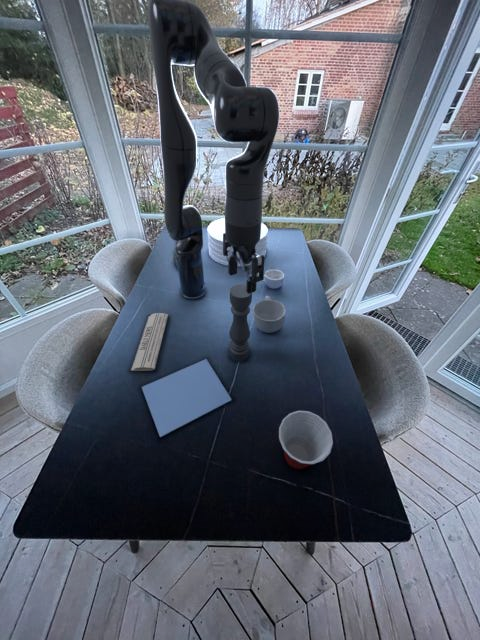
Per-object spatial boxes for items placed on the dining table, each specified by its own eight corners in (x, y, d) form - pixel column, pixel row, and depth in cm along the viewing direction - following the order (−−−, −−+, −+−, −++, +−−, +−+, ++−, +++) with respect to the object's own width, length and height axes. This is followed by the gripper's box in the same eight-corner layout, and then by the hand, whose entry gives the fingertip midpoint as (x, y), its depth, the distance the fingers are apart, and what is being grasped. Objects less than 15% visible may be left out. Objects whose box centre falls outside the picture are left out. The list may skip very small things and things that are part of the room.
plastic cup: (269, 434, 66) (274, 411, 57) (311, 431, 66) (323, 407, 58) (277, 484, 58) (285, 465, 49) (325, 480, 59) (341, 460, 50)
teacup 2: (281, 339, 89) (284, 322, 83) (249, 334, 90) (250, 317, 84) (284, 312, 98) (287, 295, 93) (255, 308, 100) (257, 291, 94)
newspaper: (155, 370, 78) (153, 367, 77) (130, 370, 78) (129, 367, 77) (168, 316, 95) (167, 312, 94) (148, 316, 95) (147, 312, 94)
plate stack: (215, 235, 142) (214, 214, 134) (267, 240, 139) (269, 218, 131) (202, 263, 122) (200, 240, 114) (263, 269, 119) (265, 246, 111)
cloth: (141, 387, 74) (141, 387, 74) (206, 359, 82) (206, 358, 82) (160, 437, 64) (159, 437, 64) (231, 400, 72) (231, 399, 72)
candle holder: (251, 349, 85) (256, 286, 68) (245, 363, 81) (249, 300, 64) (233, 344, 87) (233, 281, 69) (226, 358, 82) (225, 295, 65)
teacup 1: (282, 280, 113) (284, 270, 109) (282, 291, 108) (284, 280, 104) (258, 279, 114) (259, 268, 110) (258, 289, 108) (259, 278, 104)
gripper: (279, 227, 51) (270, 293, 62) (241, 202, 60) (239, 265, 71) (246, 235, 48) (243, 304, 59) (211, 208, 57) (214, 272, 68)
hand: (241, 282), depth 65 cm, fingers open, 8 cm apart
